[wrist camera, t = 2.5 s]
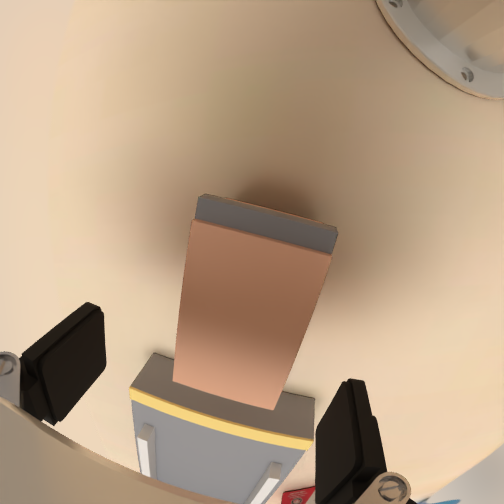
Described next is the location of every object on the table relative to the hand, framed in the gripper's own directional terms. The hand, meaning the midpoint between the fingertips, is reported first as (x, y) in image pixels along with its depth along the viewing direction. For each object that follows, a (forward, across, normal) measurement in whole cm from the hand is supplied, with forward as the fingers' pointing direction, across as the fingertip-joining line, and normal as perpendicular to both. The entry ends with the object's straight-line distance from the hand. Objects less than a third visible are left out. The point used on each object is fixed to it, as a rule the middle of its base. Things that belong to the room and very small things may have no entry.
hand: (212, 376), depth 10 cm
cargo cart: (+8, 0, -1) cm, 8 cm away
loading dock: (+9, 0, +17) cm, 19 cm away
